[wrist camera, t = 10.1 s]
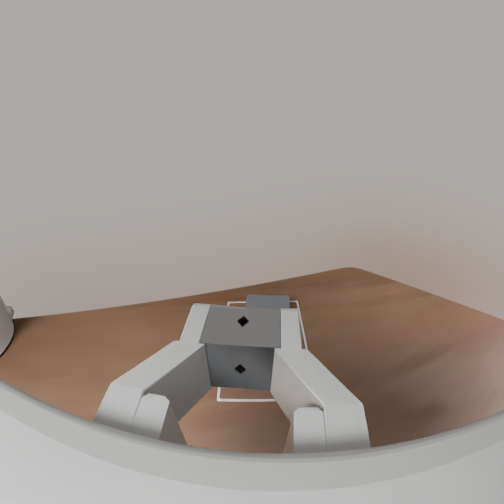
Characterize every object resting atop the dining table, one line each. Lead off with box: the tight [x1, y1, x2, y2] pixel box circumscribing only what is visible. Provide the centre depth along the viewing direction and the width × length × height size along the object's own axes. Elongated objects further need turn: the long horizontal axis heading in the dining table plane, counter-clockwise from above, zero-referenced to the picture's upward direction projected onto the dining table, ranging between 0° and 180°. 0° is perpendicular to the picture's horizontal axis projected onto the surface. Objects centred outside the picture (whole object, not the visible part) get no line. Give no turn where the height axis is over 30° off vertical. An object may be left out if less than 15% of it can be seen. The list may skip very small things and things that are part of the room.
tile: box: [245, 294, 290, 309], centre depth 35 cm, size 6×2×14 cm
